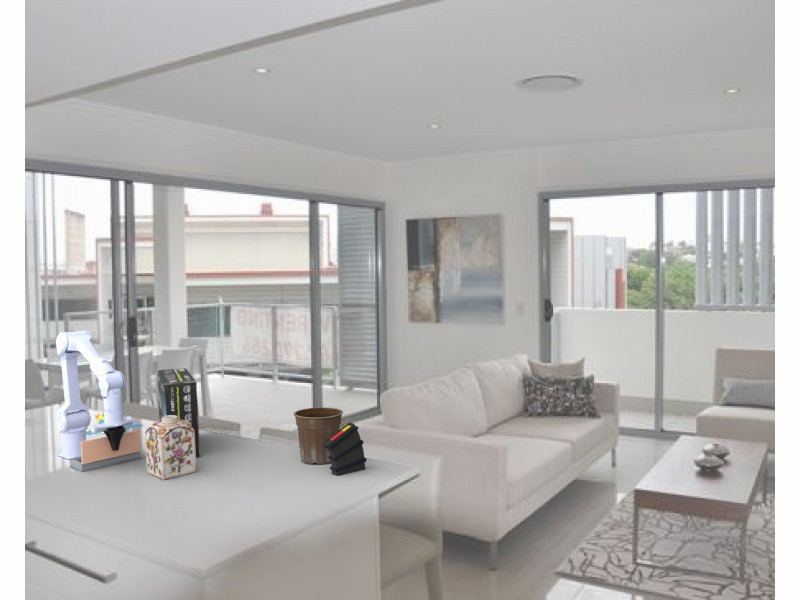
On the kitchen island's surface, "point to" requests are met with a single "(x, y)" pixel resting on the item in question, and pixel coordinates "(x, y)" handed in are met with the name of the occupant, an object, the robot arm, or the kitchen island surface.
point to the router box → (179, 398)
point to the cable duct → (102, 462)
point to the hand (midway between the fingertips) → (115, 450)
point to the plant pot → (316, 432)
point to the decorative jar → (170, 448)
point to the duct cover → (109, 447)
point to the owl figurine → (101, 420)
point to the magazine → (346, 450)
